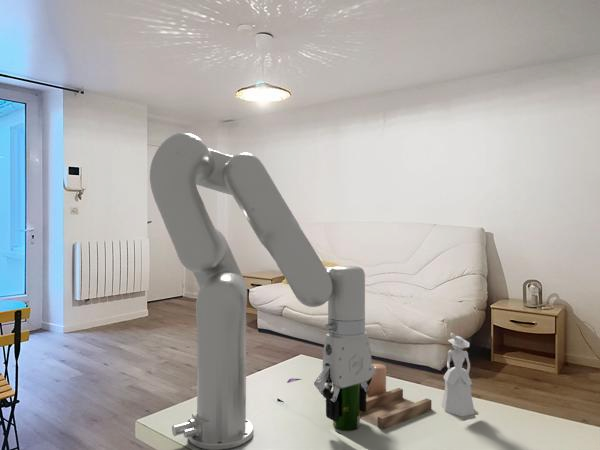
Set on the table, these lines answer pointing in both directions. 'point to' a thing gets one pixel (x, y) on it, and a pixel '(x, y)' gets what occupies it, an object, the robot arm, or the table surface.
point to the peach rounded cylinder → (378, 381)
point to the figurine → (458, 381)
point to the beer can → (348, 408)
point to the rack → (392, 409)
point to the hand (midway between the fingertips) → (346, 413)
